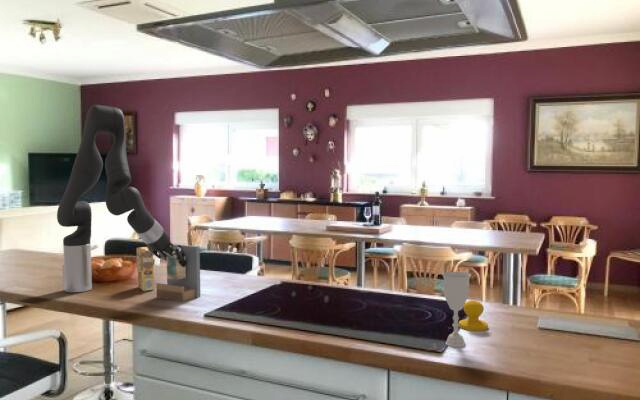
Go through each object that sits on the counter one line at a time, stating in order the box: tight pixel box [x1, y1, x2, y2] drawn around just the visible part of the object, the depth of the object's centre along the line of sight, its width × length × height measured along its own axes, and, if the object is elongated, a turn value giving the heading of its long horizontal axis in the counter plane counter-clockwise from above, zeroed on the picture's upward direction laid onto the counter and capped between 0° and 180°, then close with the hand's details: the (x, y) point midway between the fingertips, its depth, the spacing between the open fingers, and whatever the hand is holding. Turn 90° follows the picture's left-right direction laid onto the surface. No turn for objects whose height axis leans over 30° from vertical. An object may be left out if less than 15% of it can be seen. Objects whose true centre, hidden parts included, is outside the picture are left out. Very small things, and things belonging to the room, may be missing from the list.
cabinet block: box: [166, 252, 186, 280], centre depth 185 cm, size 5×4×9 cm
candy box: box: [136, 246, 155, 292], centre depth 199 cm, size 9×4×15 cm, turn 33°
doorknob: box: [458, 299, 489, 332], centre depth 150 cm, size 8×8×8 cm
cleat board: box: [155, 243, 201, 302], centre depth 186 cm, size 14×8×18 cm, turn 62°
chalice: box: [441, 271, 472, 348], centre depth 135 cm, size 7×7×18 cm
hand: (178, 264), depth 186 cm, fingers closed on cabinet block, 5 cm apart
